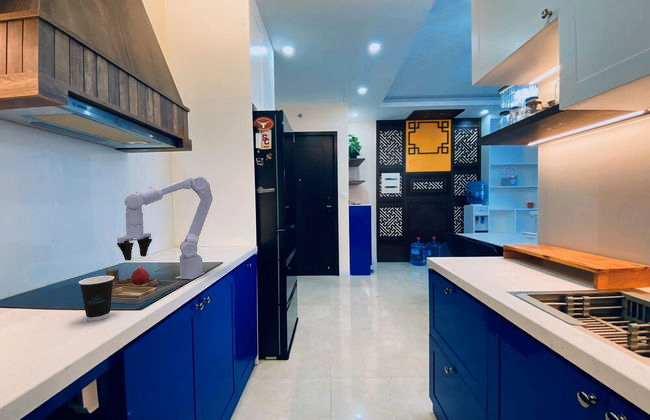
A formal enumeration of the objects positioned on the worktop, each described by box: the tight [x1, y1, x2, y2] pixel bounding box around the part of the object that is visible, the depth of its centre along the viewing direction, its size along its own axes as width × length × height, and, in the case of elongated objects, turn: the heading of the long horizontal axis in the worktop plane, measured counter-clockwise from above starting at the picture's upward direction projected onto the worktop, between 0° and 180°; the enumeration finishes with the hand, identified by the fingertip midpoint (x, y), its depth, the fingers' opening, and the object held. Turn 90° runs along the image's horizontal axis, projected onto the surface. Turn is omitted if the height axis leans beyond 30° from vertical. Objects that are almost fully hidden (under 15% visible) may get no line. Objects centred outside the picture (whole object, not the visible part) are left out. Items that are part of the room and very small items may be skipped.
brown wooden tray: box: [111, 279, 182, 305], centre depth 103 cm, size 21×15×2 cm
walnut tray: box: [105, 268, 160, 290], centre depth 109 cm, size 9×18×6 cm, turn 81°
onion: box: [130, 265, 150, 285], centre depth 108 cm, size 6×6×8 cm
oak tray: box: [112, 286, 158, 298], centre depth 98 cm, size 9×18×6 cm, turn 81°
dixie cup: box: [78, 275, 114, 322], centre depth 81 cm, size 8×8×11 cm
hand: (135, 258), depth 114 cm, fingers open, 7 cm apart
